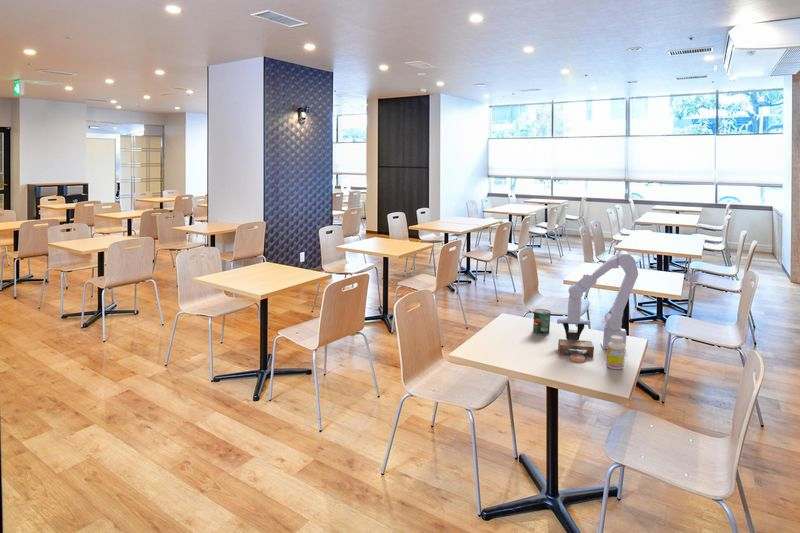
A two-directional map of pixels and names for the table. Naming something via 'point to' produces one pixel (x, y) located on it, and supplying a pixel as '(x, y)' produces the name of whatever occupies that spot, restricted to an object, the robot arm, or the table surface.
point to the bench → (575, 346)
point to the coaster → (577, 358)
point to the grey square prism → (573, 336)
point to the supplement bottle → (616, 353)
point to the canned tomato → (541, 321)
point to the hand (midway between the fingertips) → (572, 339)
